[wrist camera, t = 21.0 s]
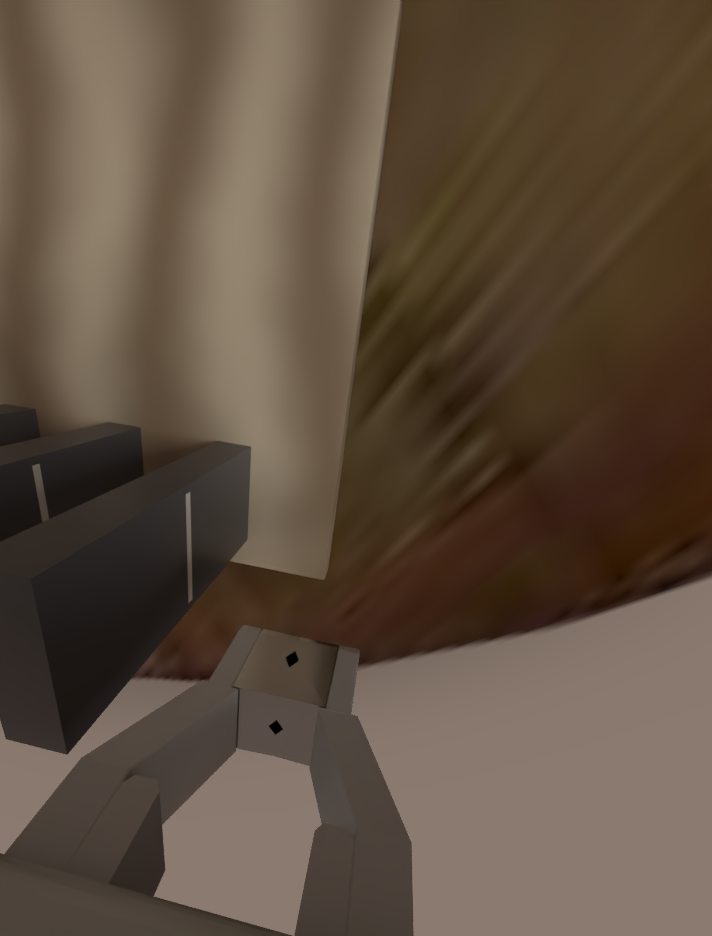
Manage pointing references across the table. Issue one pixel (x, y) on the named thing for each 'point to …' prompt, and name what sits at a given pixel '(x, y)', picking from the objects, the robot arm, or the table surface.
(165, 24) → the birch board
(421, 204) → the table surface
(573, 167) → the table surface
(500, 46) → the table surface
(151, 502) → the domino
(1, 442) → the domino
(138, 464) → the domino
